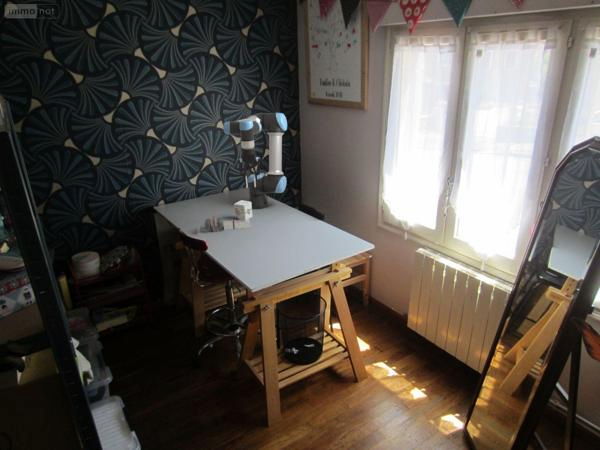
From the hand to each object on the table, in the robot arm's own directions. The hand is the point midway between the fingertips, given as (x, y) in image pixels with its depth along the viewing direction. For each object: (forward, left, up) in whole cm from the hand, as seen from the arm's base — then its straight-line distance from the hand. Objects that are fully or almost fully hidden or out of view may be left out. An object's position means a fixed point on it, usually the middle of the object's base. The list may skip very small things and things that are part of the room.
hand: (251, 186), depth 249 cm
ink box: (+6, -17, -27) cm, 32 cm away
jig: (+17, 0, -27) cm, 32 cm away
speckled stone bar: (+10, 0, -25) cm, 28 cm away
